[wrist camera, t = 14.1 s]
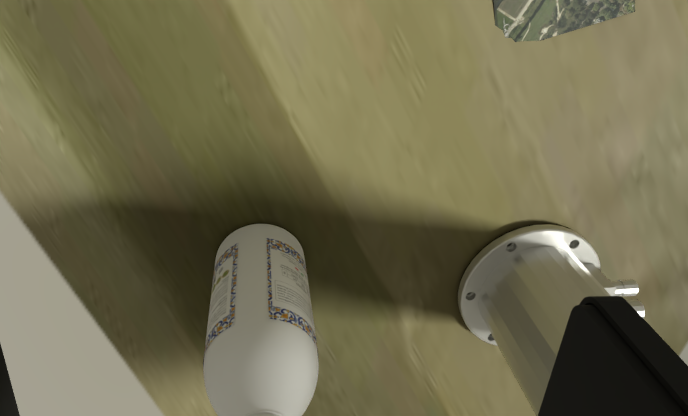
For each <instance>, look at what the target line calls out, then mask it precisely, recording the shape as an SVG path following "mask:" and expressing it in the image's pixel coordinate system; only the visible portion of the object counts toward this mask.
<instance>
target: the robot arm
mask: <svg viewBox="0 0 688 416" xmlns="http://www.w3.org/2000/svg"><path fill="white" fill-rule="evenodd" d="M637 293H638V284H637V283H636V281H635V280H618V281H610V280H609V279H607V278H606V277H605V276H604V275H603V274H602V272H601V265H600V261H599V258H598V255H597V253H596V252H595V250H594V249H593V247H592V246H591V244H590V243H589V242H587V241H586V240H585V239H584V238H583V237H582V236H581V235H580V234H578V233H576V232H575V231H573V230H571V229H568V228H566V227H563V226H558V225H551V224H542V225H532V226H527V227H522V228H519V229H516V230H514V231H511V232H509V233H506V234H505V235H503V236H501V237H499V238H497V239H496V240H494V241H493V242H491V243H490V244H489V245H487V246H486V247H485V248H484V249H482V250H481V251H480V253H479V254H478V255H477V256H476V257H475V258H474V259H473V260H472V262H471V263H470V265H469V266H468V267H467V269H466V270H465V273H464V275H463V277H462V279H461V282H460V286H459V291H458V306H459V310H460V314H461V316H462V318H463V320H464V322H465V324H466V325H467V327H468V328H469V330H470V331H471V332H472V333H473V334H474V335H475V336H477V337H478V338H479V339H481V340H483V341H484V342H486V343H489V344H492V345H496V346H498V347H499V349H500V350H501V352H502V354H503V356H504V358H505V360H506V361H507V363H508V365H509V367H510V369H511V370H512V372H513V374H514V376H515V378H516V380H517V381H518V383H519V385H520V387H521V389H522V391H523V392H524V394H525V396H526V398H527V400H528V401H529V403H530V405H531V407H532V409H533V411H534V412H535V414H536V416H688V366H687V365H686V364H685V363H684V361H682V360H681V358H680V357H679V356H678V355H677V354H676V353H675V352H674V351H673V350H672V349H671V348H670V347H669V345H668V344H667V343H666V342H665V341H664V340H663V339H662V338H661V337H660V336H659V335H658V334H657V333H656V332H655V331H654V329H653V328H652V327H651V326H650V325H649V324H648V323H647V322H646V321H645V320H644V319H643V318H644V317H645V309H644V306H643V304H642V303H641V301H639V300H638V299H634V300H625V299H624V298H622V297H621V296H635V295H637ZM619 296H620V297H619ZM0 416H20V415H19V412H18V408H17V404H16V400H15V397H14V393H13V389H12V386H11V382H10V378H9V374H8V371H7V367H6V363H5V359H4V356H3V352H2V348H1V345H0Z"/></svg>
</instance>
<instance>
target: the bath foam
mask: <svg viewBox="0 0 688 416" xmlns="http://www.w3.org/2000/svg"><path fill="white" fill-rule="evenodd" d="M203 369H204V381H205V387H206V391H207V395H208V397H209V400H210V402H211V405H212V406H213V408H214V410H215V412H216V413H217V415H218V416H302V415H303V413H304V412H305V410H306V409H307V407H308V405H309V403H310V401H311V399H312V397H313V394H314V391H315V388H316V384H317V378H318V349H317V342H316V335H315V328H314V320H313V313H312V306H311V299H310V291H309V284H308V277H307V270H306V264H305V258H304V253H303V249H302V247H301V245H300V243H299V242H298V240H297V239H296V238H295V237H294V236H293V235H292V234H291V233H289V232H288V231H286V230H285V229H283V228H280V227H278V226H275V225H270V224H252V225H247V226H244V227H242V228H239V229H237V230H235V231H234V232H232V233H231V234H230V235H228V236H227V237H226V238H225V240H224V241H223V242H222V243H221V245H220V247H219V249H218V251H217V255H216V260H215V268H214V274H213V283H212V291H211V300H210V309H209V317H208V326H207V334H206V343H205V352H204V360H203Z"/></svg>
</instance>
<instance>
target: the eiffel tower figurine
mask: <svg viewBox="0 0 688 416" xmlns="http://www.w3.org/2000/svg"><path fill="white" fill-rule="evenodd" d="M494 11H495V25H496V26H497V27H498V28H500V29H502V30H503V32H504V35H505V38H512V39H513V40H514V41H515V42H519V41H539V40H544V39H547V38H550V37H553V36H557V35H560V34H563V33H567V32H570V31H573V30H576V29H580V28H583V27H586V26H589V25H592V24H596V23H599V22H602V21H605V20H609V19H612V18H615V17H618V16H622V15H625V14H628V13H632V12H635V0H494Z"/></svg>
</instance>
